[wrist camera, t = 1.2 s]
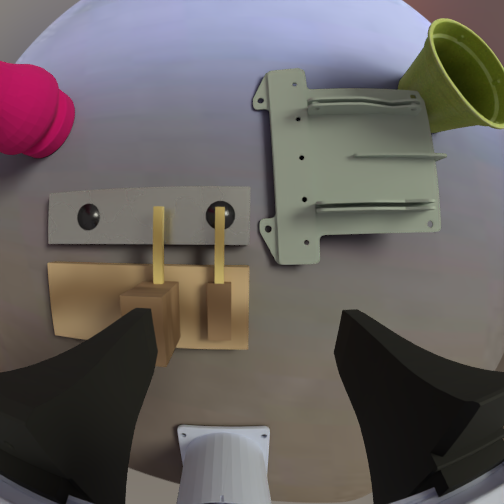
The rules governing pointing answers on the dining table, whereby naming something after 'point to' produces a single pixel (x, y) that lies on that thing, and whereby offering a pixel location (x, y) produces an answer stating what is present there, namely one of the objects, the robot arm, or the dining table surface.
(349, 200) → the metal bracket
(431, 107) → the plant pot
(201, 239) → the bolt strip
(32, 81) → the pepper mill
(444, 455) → the robot arm
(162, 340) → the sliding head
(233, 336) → the trammel beam
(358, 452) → the dining table surface
